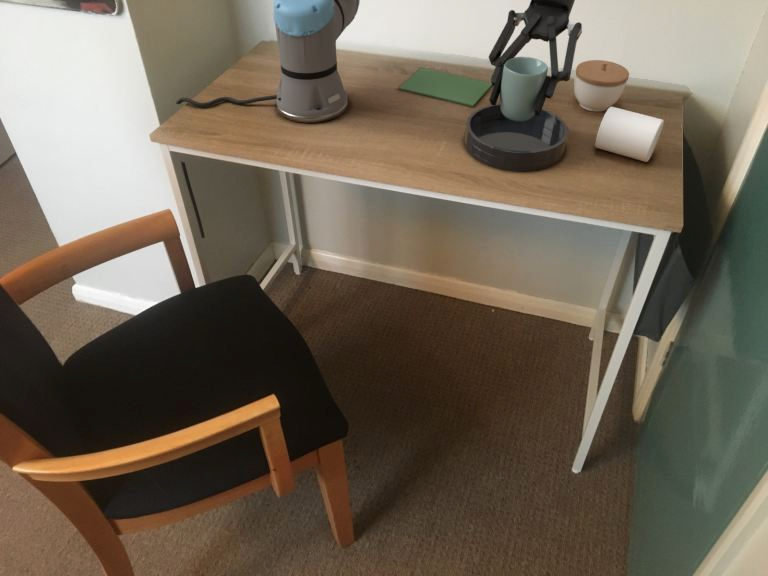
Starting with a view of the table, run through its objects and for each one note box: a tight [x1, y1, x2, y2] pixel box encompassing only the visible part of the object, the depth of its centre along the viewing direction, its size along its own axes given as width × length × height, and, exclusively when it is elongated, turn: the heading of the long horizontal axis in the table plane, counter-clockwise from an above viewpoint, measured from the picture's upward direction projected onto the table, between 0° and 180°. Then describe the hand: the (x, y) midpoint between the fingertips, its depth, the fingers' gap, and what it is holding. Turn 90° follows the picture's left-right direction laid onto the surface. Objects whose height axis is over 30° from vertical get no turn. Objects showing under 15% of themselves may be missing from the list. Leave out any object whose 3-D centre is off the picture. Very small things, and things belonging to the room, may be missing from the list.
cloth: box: [398, 67, 493, 107], centre depth 138 cm, size 18×12×1 cm, turn 62°
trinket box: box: [573, 59, 630, 113], centre depth 129 cm, size 11×11×9 cm
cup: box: [499, 56, 549, 122], centre depth 113 cm, size 8×8×10 cm
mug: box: [594, 106, 665, 163], centre depth 117 cm, size 12×10×8 cm
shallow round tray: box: [464, 102, 569, 172], centre depth 119 cm, size 19×19×4 cm
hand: (514, 107), depth 112 cm, fingers closed on cup, 8 cm apart
